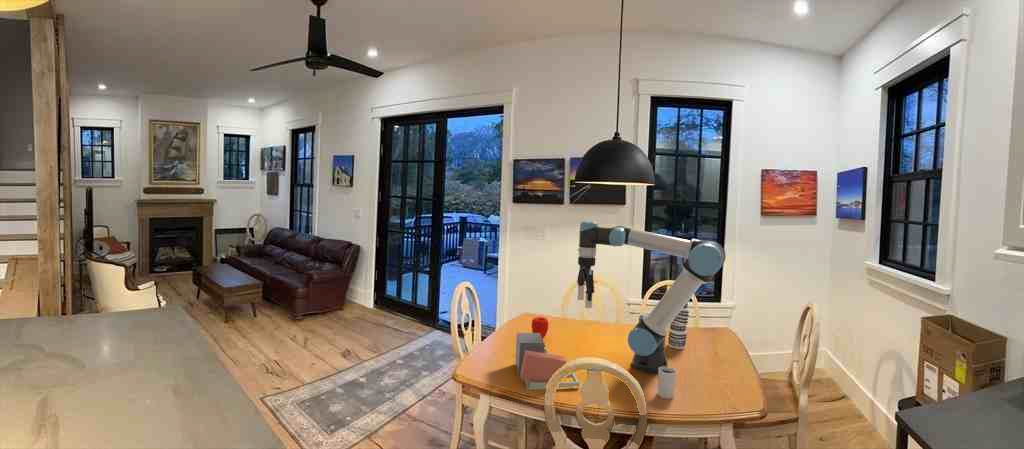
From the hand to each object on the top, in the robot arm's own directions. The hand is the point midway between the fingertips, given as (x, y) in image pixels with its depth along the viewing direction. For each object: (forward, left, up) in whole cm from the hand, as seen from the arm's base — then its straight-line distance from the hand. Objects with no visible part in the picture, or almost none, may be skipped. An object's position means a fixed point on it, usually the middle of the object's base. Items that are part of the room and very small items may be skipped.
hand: (584, 303), depth 205 cm
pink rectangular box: (+22, +23, -25) cm, 41 cm away
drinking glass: (-25, +33, -27) cm, 49 cm away
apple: (+14, -31, -27) cm, 43 cm away
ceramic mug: (+19, -10, -27) cm, 34 cm away
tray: (+18, +23, -27) cm, 40 cm away
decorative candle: (-55, -21, -27) cm, 65 cm away
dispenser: (+25, +9, -27) cm, 38 cm away
